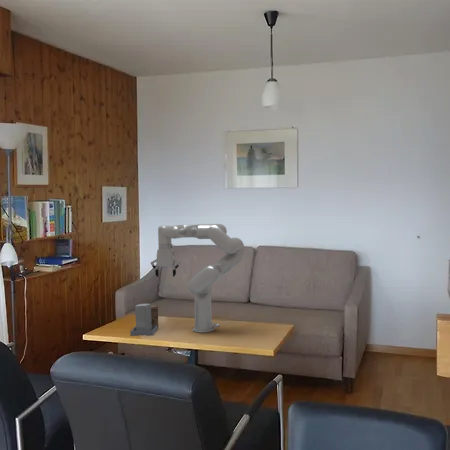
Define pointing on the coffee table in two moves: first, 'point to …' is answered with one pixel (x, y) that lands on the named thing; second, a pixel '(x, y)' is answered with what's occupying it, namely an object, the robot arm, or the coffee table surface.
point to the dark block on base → (154, 315)
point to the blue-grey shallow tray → (147, 333)
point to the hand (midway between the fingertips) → (165, 276)
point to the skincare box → (143, 317)
